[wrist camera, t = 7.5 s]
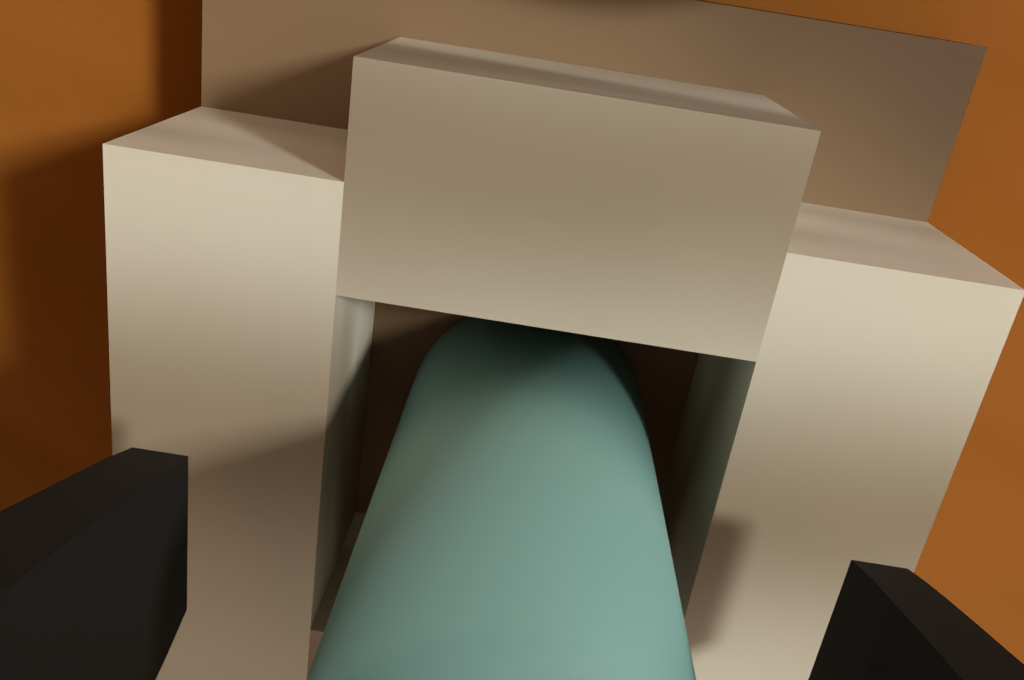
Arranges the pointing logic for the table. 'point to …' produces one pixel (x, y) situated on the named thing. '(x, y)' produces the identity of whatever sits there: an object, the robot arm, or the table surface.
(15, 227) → the table surface
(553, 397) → the peg
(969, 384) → the socket board
